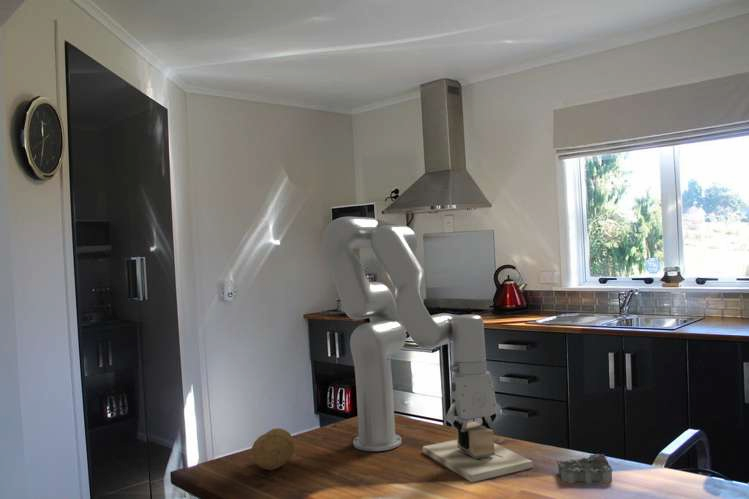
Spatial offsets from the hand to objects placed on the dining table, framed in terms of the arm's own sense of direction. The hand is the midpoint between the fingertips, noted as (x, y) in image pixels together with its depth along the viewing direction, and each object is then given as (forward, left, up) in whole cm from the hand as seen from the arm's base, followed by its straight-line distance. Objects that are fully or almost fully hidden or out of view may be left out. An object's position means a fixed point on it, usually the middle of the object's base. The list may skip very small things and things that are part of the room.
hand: (475, 444), depth 138 cm
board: (0, 0, -4) cm, 4 cm away
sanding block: (0, 0, -2) cm, 2 cm away
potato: (-21, -43, -4) cm, 48 cm away
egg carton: (+20, +14, -4) cm, 25 cm away
